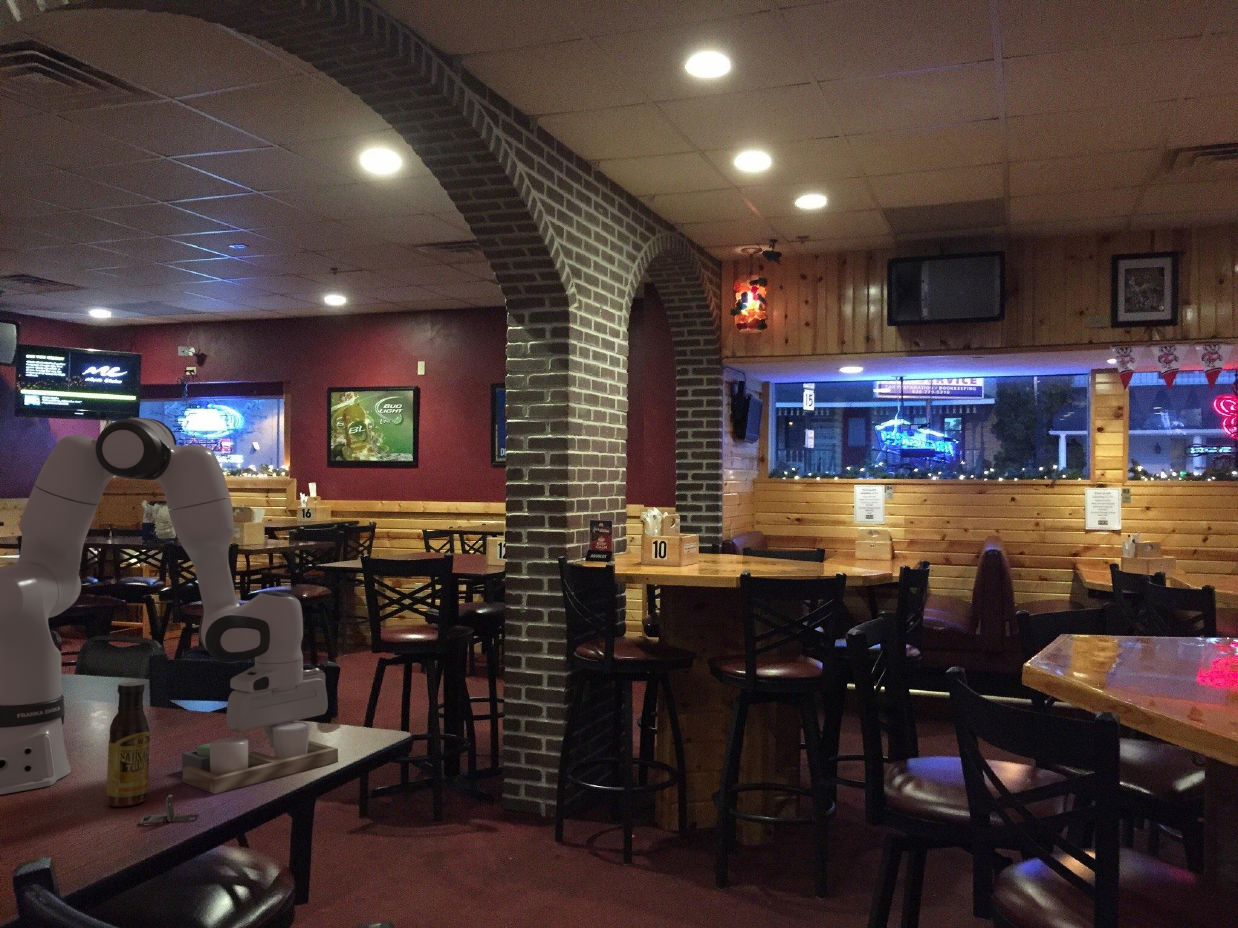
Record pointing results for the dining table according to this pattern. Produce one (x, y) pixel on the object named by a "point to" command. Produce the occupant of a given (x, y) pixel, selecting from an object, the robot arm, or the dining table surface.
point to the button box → (195, 761)
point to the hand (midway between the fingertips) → (279, 746)
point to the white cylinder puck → (228, 755)
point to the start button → (203, 750)
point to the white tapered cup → (290, 739)
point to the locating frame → (261, 769)
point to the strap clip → (170, 815)
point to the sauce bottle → (128, 749)
